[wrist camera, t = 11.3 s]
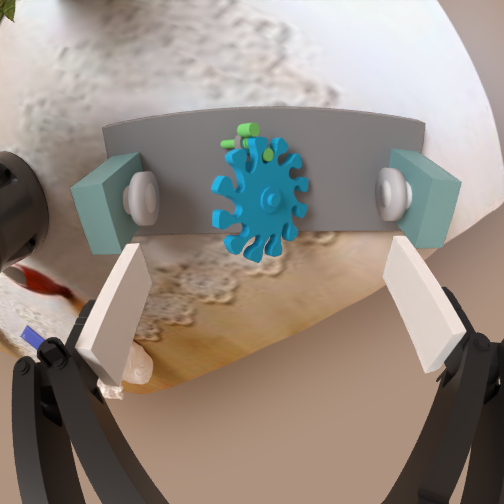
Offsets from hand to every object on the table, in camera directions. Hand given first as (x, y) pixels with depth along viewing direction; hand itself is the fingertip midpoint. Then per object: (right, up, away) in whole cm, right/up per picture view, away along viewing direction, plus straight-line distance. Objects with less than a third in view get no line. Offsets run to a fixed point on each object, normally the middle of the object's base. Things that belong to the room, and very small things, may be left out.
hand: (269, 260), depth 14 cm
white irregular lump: (-22, -15, +29) cm, 40 cm away
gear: (0, +7, +11) cm, 13 cm away
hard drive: (-46, -20, +33) cm, 60 cm away
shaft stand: (+1, +8, +12) cm, 14 cm away
